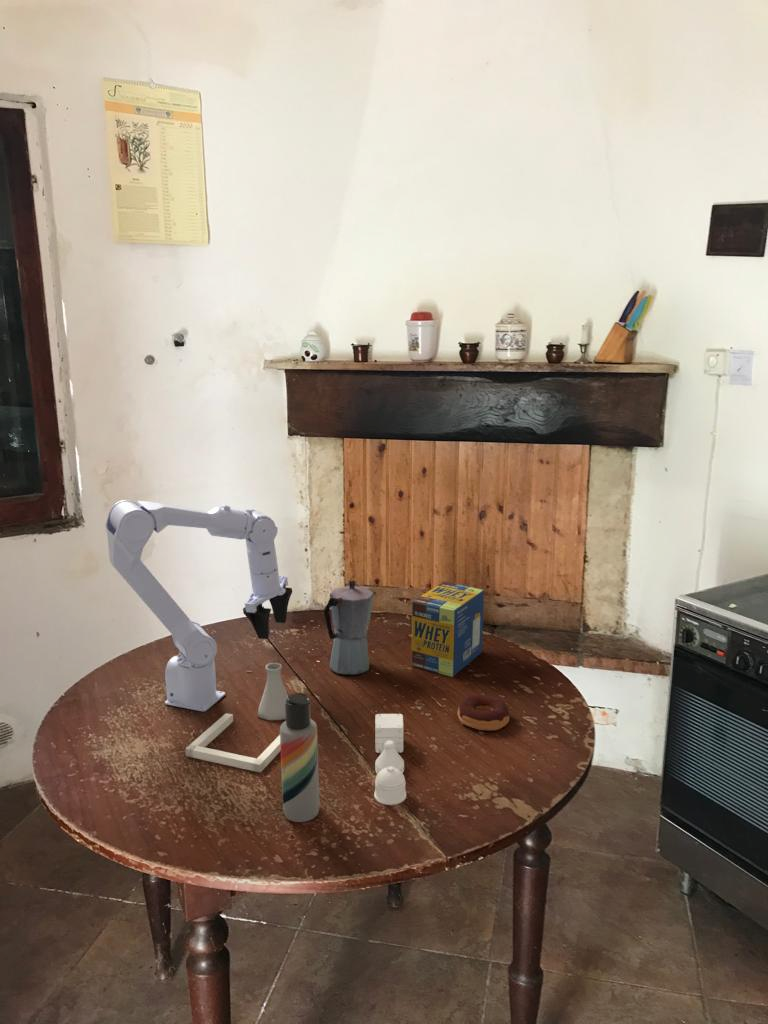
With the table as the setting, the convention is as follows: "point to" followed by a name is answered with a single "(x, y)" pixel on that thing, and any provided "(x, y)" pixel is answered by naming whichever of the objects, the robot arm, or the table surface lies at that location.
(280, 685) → the flask
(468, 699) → the donut
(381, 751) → the container set
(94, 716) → the table surface
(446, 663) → the protein box
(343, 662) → the moka pot
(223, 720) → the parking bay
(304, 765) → the lotion bottle
